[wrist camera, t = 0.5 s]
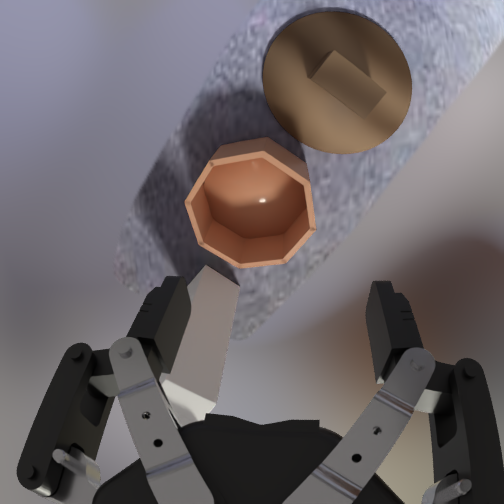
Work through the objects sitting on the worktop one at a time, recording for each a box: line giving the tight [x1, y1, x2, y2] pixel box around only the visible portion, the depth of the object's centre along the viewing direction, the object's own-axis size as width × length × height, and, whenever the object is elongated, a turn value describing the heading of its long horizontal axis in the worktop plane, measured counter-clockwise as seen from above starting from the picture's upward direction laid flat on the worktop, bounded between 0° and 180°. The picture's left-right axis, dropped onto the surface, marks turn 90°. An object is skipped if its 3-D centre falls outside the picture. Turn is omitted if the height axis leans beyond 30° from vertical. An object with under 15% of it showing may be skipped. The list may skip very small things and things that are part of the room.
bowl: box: [184, 137, 316, 269], centre depth 34 cm, size 13×13×6 cm
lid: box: [263, 12, 412, 154], centre depth 26 cm, size 16×16×6 cm
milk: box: [159, 265, 240, 426], centre depth 36 cm, size 6×6×22 cm
